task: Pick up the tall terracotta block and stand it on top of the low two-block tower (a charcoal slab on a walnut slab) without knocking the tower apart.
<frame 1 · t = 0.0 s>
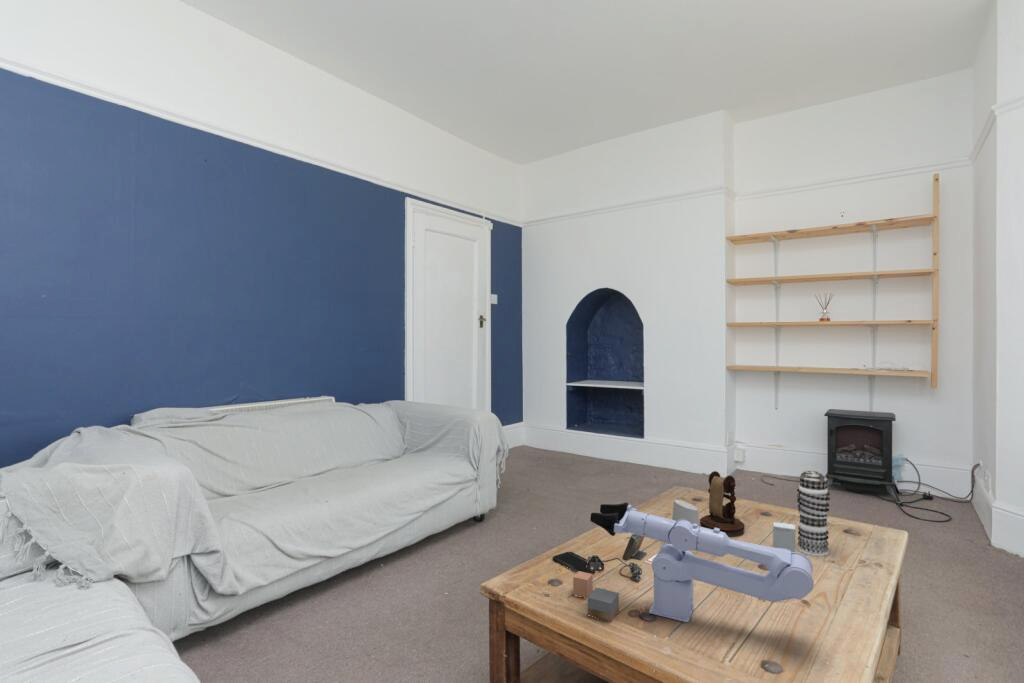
hand: (595, 512, 141), 22 cm above the table, tool horizontal, fingers open, 7 cm apart
terracotta block: (582, 594, 141), on the table
skincare box: (783, 565, 158), on the table
decorative candle: (813, 551, 169), on the table
smart speaker: (685, 544, 175), on the table
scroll: (721, 530, 187), on the table
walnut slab: (603, 615, 131), on the table, touching charcoal slab
charcoal slab: (603, 605, 131), point 2 cm above the table, touching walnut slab
phone: (576, 566, 159), on the table
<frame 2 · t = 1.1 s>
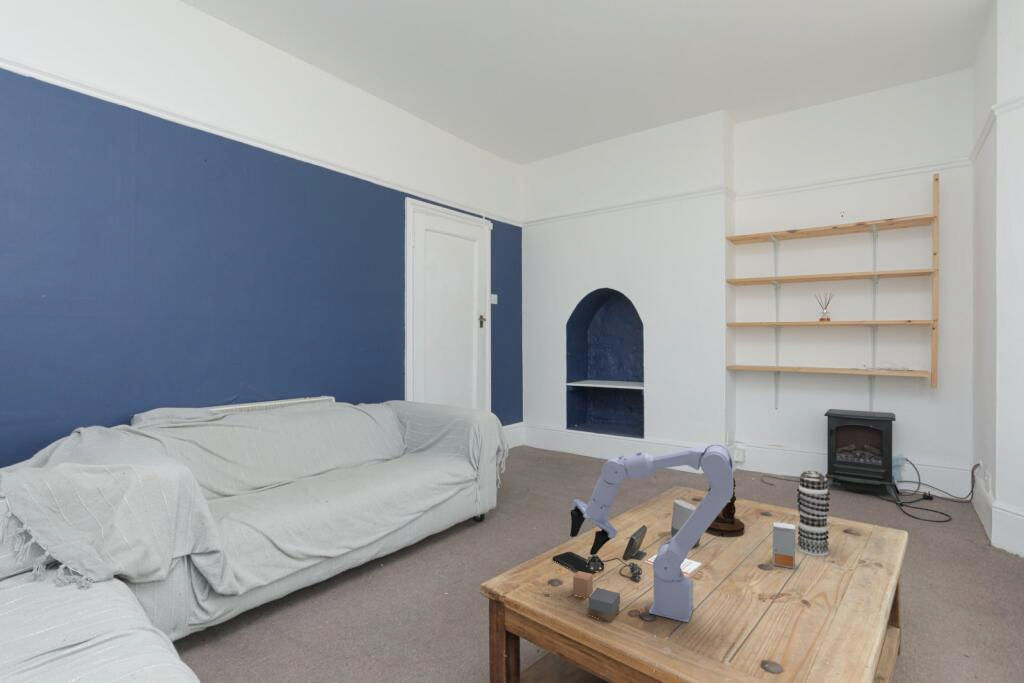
hand: (582, 544, 141), 13 cm above the table, tool tilted 20°, fingers open, 7 cm apart
nothing on the table moved.
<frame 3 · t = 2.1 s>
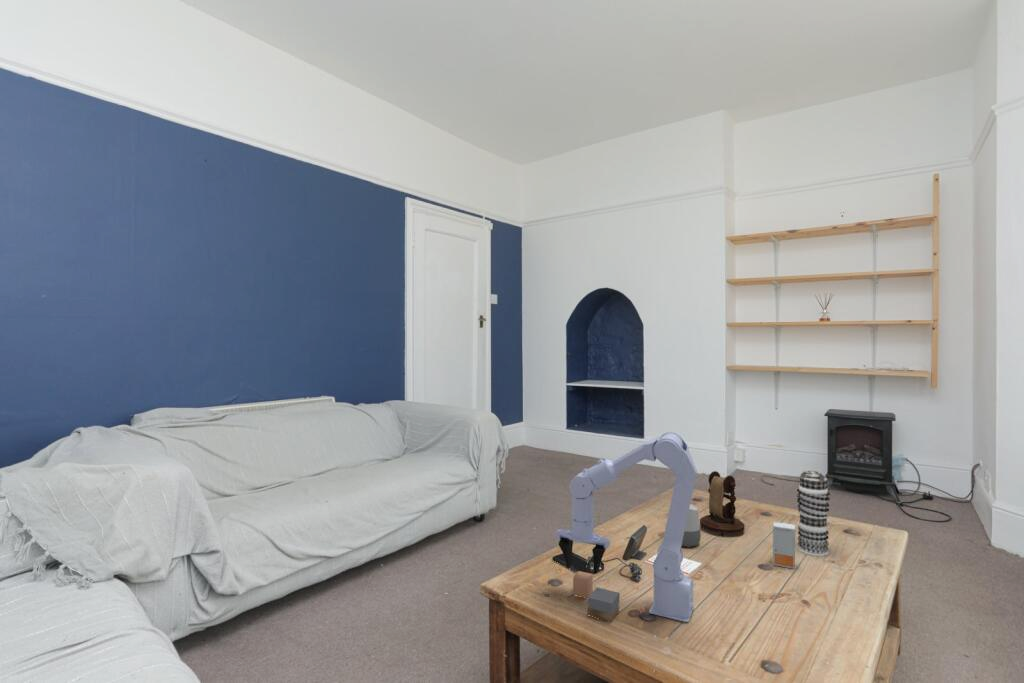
hand: (582, 569, 141), 7 cm above the table, tool pointing down, fingers open, 7 cm apart
nothing on the table moved.
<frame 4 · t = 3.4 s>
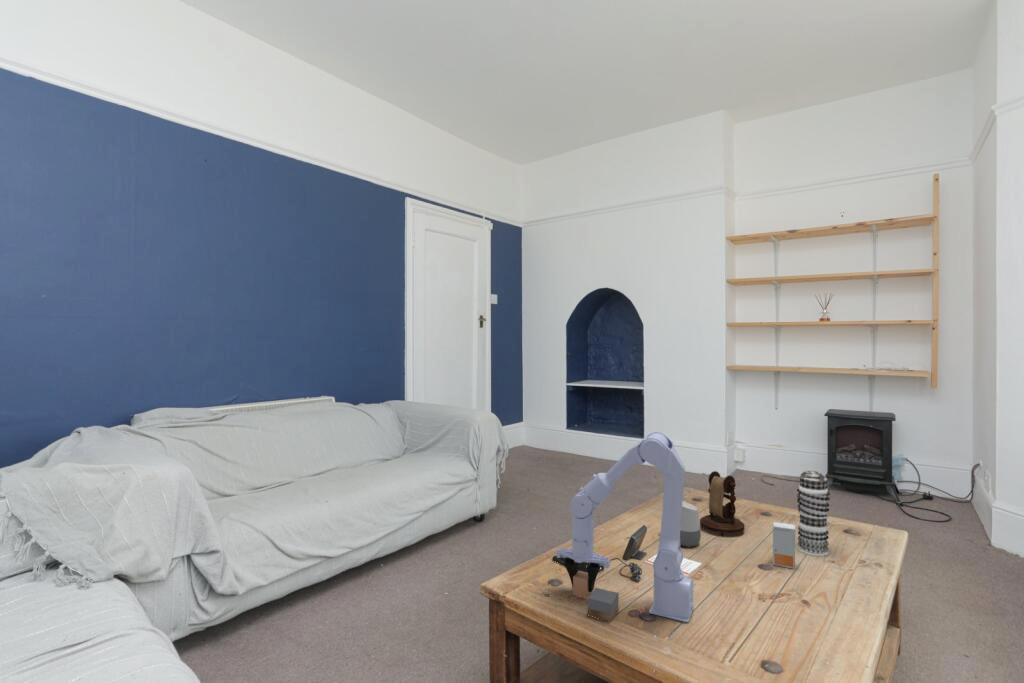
hand: (582, 588, 141), 1 cm above the table, tool pointing down, fingers closed on terracotta block, 4 cm apart
terracotta block: (582, 593, 141), on the table, touching gripper
everything else where it was.
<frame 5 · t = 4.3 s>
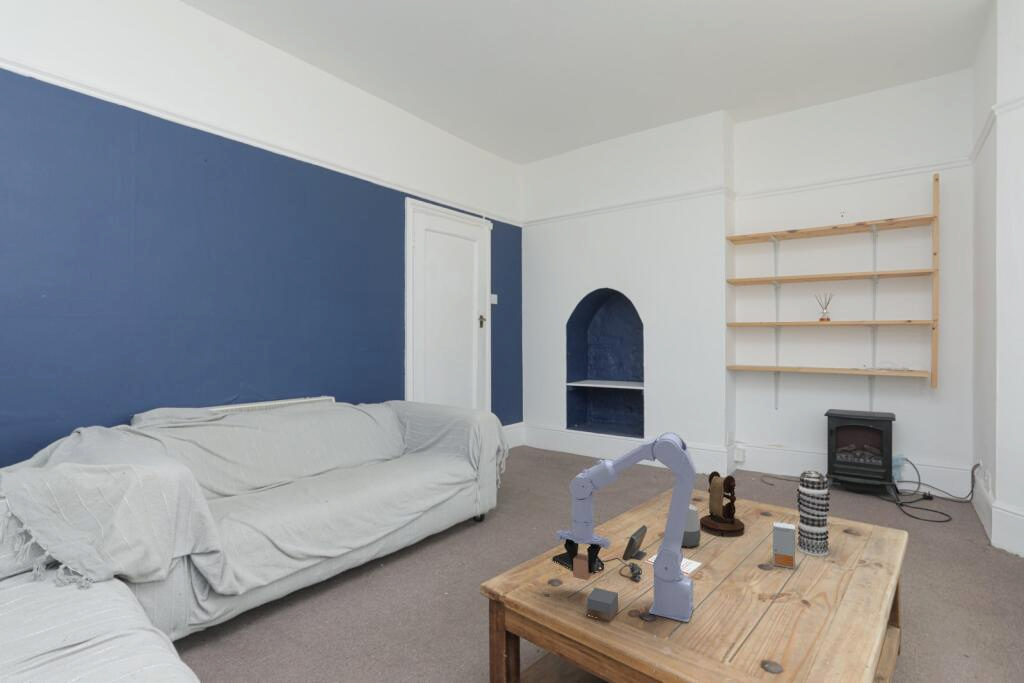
hand: (583, 570, 141), 6 cm above the table, tool pointing down, fingers closed on terracotta block, 4 cm apart
terracotta block: (583, 575, 141), point 5 cm above the table, touching gripper
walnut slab: (602, 614, 131), on the table
charcoal slab: (602, 605, 131), point 2 cm above the table
everything else where it was.
when the fingers open (7 cm above the table, at t = 6.4 s): terracotta block drops 1 cm, resting on charcoal slab.
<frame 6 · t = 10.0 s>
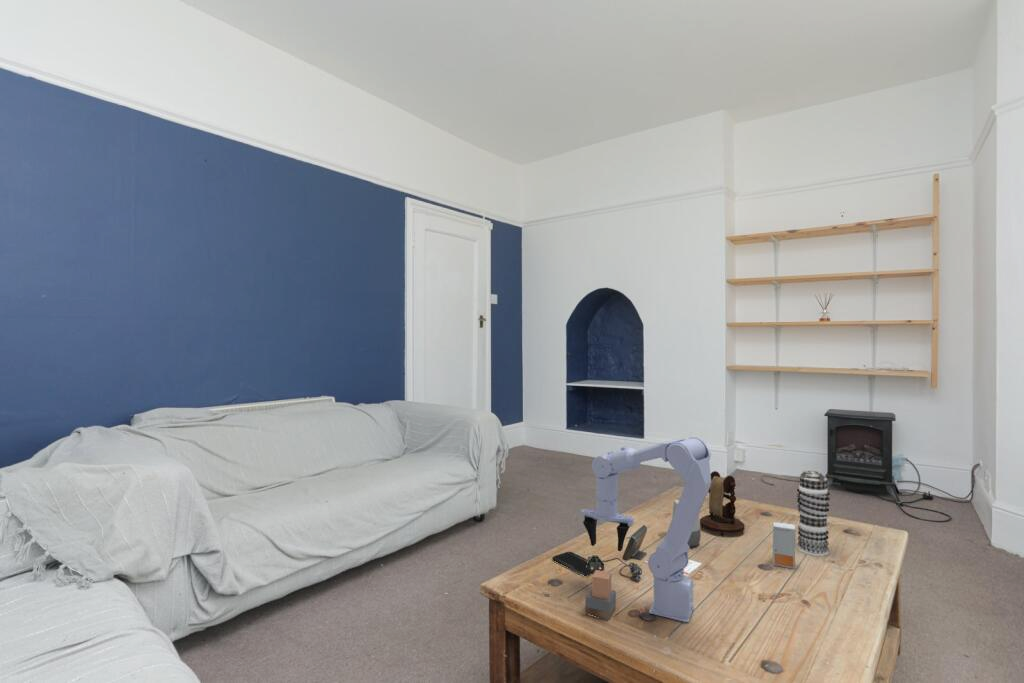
hand: (606, 547, 146), 10 cm above the table, tool pointing down, fingers open, 7 cm apart
terracotta block: (601, 594, 131), point 5 cm above the table, touching charcoal slab
charcoal slab: (600, 603, 132), point 2 cm above the table, touching terracotta block
everything else where it was.
at the end: terracotta block 0.4 cm off-centre on the charcoal slab, point 2.5 cm above the charcoal slab's base; terracotta block tilted 1°; charcoal slab 0.2 cm from the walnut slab (horizontally) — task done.
